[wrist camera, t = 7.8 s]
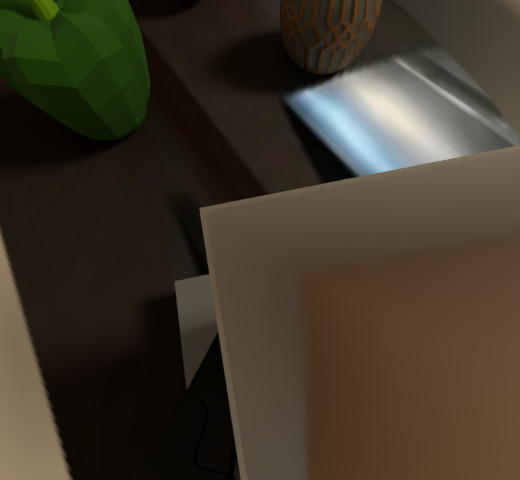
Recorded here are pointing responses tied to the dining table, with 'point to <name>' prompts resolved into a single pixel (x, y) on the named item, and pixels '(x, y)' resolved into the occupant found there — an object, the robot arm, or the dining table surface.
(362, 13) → the vase
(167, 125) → the dining table surface
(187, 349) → the block with square hole
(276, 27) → the dining table surface
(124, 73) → the bell pepper
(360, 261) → the wooden square peg
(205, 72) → the dining table surface
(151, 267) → the dining table surface
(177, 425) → the robot arm
